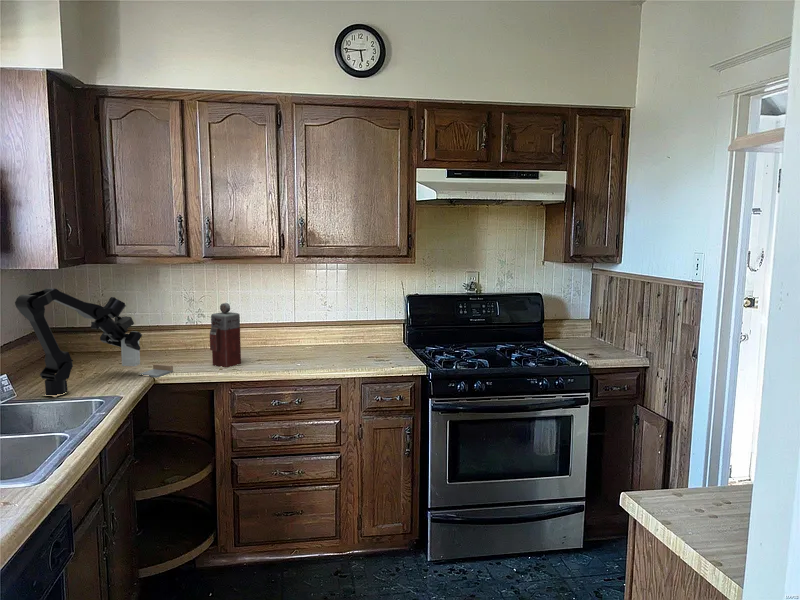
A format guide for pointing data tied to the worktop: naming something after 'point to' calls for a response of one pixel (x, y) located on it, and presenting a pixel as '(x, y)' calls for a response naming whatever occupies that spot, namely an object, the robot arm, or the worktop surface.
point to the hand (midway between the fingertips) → (133, 348)
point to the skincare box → (129, 355)
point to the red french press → (225, 337)
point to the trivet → (159, 370)
